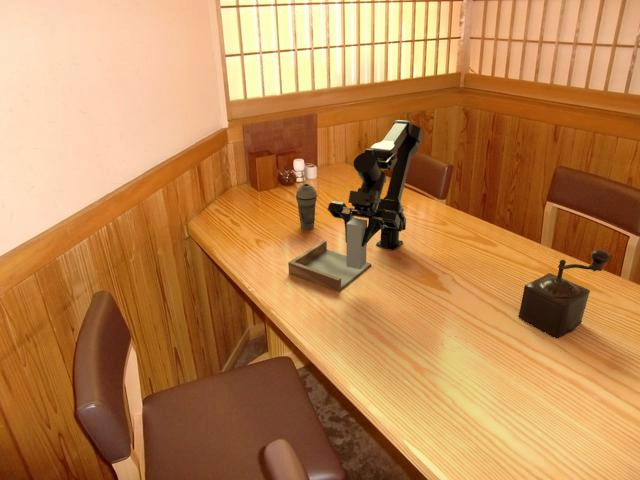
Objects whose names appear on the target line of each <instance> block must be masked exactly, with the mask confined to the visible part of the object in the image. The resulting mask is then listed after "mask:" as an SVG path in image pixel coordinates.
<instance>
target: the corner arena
mask: <svg viewBox="0 0 640 480" xmlns="http://www.w3.org/2000/svg"><path fill="white" fill-rule="evenodd" d="M327 241H328V240H326V239H325V240H324V239H323V240H321V241H320V242H318V243H316V244H315V245H313V246H312V247H310V248H308V249H307V250H305V251H304V252H302V253H300V255H298V256H296V257H295V258H293V259H291V260H290V261H288V262H287V264H288V274H290V275H292V276H295V277H298V278H300V279H302V280H305V281H309V282H310V283H314V284H317V285H319V286H322V287H324V288H328V289H329V290H333V291H336V292H339V293H340V291H341V290H343V289H344V288H345V287H346V286H347V285H349V284H350V283H351V282H352V281H354V280H355V279H356V278H358V277H359V276H360V275H361V274H363V272H365V271H366V270H367V269H369V268H370V267H371V266H372V263H370V262H367V261H366V264H365V265H364V266H363V267H362V268H361V270H360V269H356V268H351V267H347V254H346V255H345V254H342V253H340V252H335V251H333V250H330V249H327V247H328V244H327V243H328V242H327Z"/></svg>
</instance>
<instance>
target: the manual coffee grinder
mask: <svg viewBox="0 0 640 480" xmlns="http://www.w3.org/2000/svg"><path fill="white" fill-rule="evenodd" d="M590 256H591V260H592V261H591V263H590V264H589V265H588V266H587V265H583V264H578V263H577V264H576V263H570V264H567V261H566V260H565V259H560V260H559V264H558V267H557V268H558V272H557V275H555V274H553V273H551V272H548V273H547V274H545V275H543V276H541V277H538V278H537V279H535V280H533V281H530V282H529V283H527V284H525V285H524V288H523V291H522V292H523V293H522V296H521V297H522V298H521V303H520V307H519V311H518V315H517V316H518V317H519V318H518V319H520V318H521V319H522V320H521V319H520V320H521V321H523V320H524V321H523V322H525V323H526V322H527V324H528V323H529V325H530V324H531V325H530V326H532V325H533V326H532V327H534V328H535V327H536V328H535V329H537V328H538V329H537V330H539V329H540V332H543V333H544V332H546V333H547V334H546V333H545V334H546V335H548V334H549V335H548V336H550V335H551V336H550V337H551V338H554V337H555V338H554V339H557V338H558V339H559V338H562V337H564V336H566V335H567V334H569V333H571V332H573V331H574V330H576V328H578V327H580V324H582V322H583V317H584V314H585V313H584V312H585V309H586V306H587V303H588V300H589V295H590V292H591V291H590V289H588V288H586V287H583V286H582V285H579V284H577V283H575V282H573V281H570V280H568V279H565V278H563V273H564V270H569V269H570V270H571V269H581V270H591V271H593V272H603V266H605V265H606V264H608V262H609V261H610V260H611V255H610V253H609V252H608V251H605V250H604V249H595V250H594V249H593V251H592V252H591V255H590ZM577 326H578V327H577Z"/></svg>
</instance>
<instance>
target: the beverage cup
mask: <svg viewBox="0 0 640 480" xmlns="http://www.w3.org/2000/svg"><path fill="white" fill-rule="evenodd" d="M301 178H302V184H301V185H300V186H299V187H298V188H297V190H296V194H295V199H296V202H297V208H298V218H299V223H300V228H301V229H302V230H303V231H304V230H307V231H310V230H313V229H314V228H315V219H316V218H315V216H316V204H317V197H318V193H317V190H316V189H315V187H314V186H313V185H311V184H309V183H305V177H304V171H301Z"/></svg>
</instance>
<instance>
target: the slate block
mask: <svg viewBox="0 0 640 480" xmlns="http://www.w3.org/2000/svg"><path fill="white" fill-rule="evenodd" d="M367 227H368V219H364V218H359V217H354V218H352V219H351V220H350V221H349V222H348V223H347V243H346V256H347V267H351V268H356V269H360V270H361V268H362V267H363V266H364V265H365V264H366V262H367V248H368V247H367V244H368V243H367V244H366V245H365V246H364V247H362V246H361V245H362V241H363V237H364V235H365V232H366V229H367Z"/></svg>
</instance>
